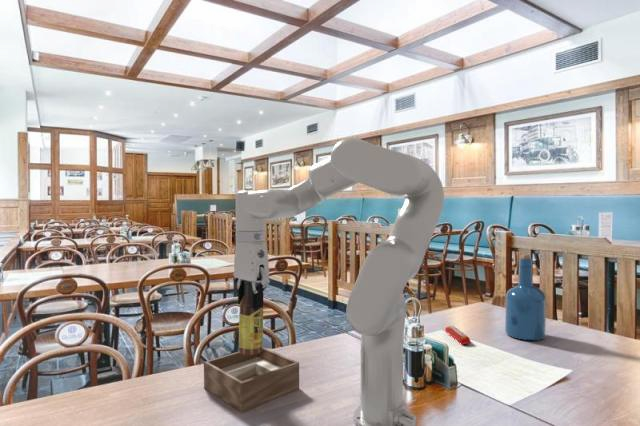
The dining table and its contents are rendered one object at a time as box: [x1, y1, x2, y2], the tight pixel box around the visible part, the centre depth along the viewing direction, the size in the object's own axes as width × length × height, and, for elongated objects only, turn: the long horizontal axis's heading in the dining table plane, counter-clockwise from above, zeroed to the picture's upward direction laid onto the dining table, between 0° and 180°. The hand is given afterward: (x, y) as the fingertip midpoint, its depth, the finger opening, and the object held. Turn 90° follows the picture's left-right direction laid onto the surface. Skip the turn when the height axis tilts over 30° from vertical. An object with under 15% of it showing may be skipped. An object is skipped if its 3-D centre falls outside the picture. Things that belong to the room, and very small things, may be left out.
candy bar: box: [444, 325, 472, 346], centre depth 150 cm, size 16×4×3 cm, turn 6°
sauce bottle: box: [238, 278, 264, 355], centre depth 110 cm, size 6×6×20 cm
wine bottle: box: [504, 253, 547, 341], centre depth 152 cm, size 14×13×30 cm
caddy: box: [203, 346, 300, 414], centre depth 111 cm, size 18×18×7 cm
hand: (250, 304), depth 110 cm, fingers closed on sauce bottle, 5 cm apart
